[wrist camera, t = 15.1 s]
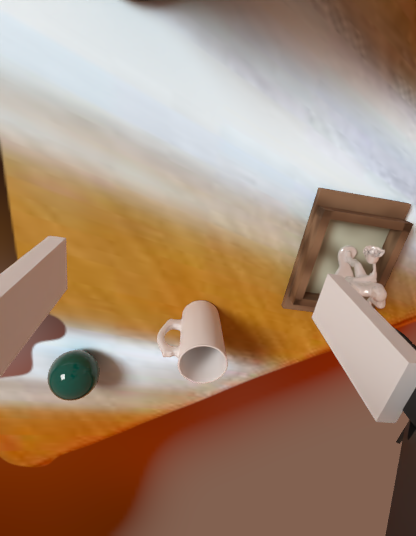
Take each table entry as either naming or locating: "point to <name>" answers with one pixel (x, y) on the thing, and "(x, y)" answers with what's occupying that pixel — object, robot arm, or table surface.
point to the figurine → (362, 273)
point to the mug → (197, 343)
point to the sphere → (73, 375)
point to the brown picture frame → (345, 241)
